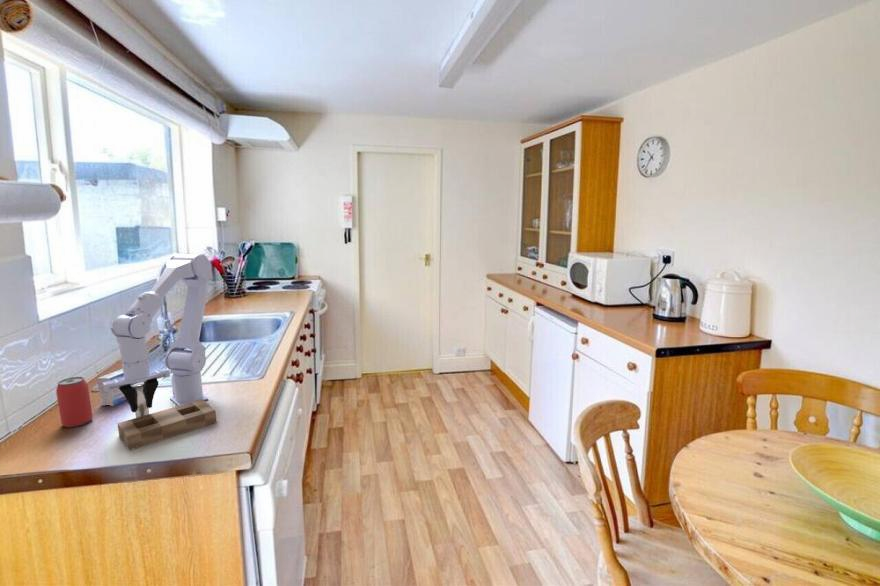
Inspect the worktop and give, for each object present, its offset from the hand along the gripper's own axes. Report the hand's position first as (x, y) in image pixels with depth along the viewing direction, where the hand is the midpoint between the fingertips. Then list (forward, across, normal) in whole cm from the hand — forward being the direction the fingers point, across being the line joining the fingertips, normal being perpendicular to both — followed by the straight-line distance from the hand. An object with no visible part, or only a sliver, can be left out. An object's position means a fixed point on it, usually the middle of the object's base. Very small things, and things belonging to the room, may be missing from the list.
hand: (141, 408), depth 119 cm
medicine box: (+5, -1, +23) cm, 24 cm away
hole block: (+4, +4, -8) cm, 10 cm away
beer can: (+5, -12, +14) cm, 19 cm away
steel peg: (+3, 0, 0) cm, 3 cm away
